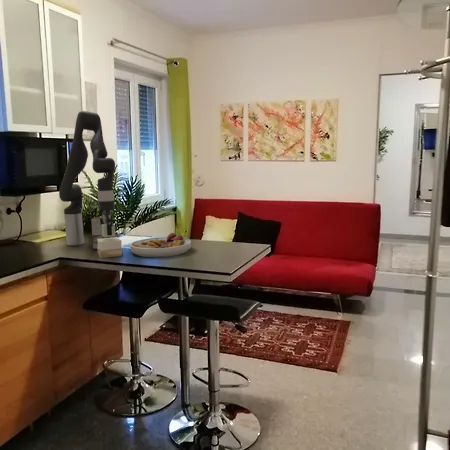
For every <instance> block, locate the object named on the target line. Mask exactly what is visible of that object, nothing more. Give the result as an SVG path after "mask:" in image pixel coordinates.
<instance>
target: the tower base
mask: <svg viewBox="0 0 450 450" xmlns="http://www.w3.org/2000/svg"><path fill="white" fill-rule="evenodd" d="M96 251H97V255H98V256H99V258H100V259H102V258H103V259H105V258H113V257H120V256H123V254H122V253H123V251H122V248H121V249H111V250H100V249H99V248H98V247H97V250H96Z"/></svg>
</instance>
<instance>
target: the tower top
mask: <svg viewBox="0 0 450 450" xmlns="http://www.w3.org/2000/svg"><path fill="white" fill-rule="evenodd" d="M97 243H98V248H99V249H100V250H111V249H121V250H122V248H123V247H122V246H123V245H122V239H120V238H119V237H118V236H113V237H111V238H103V239H97Z"/></svg>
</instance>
